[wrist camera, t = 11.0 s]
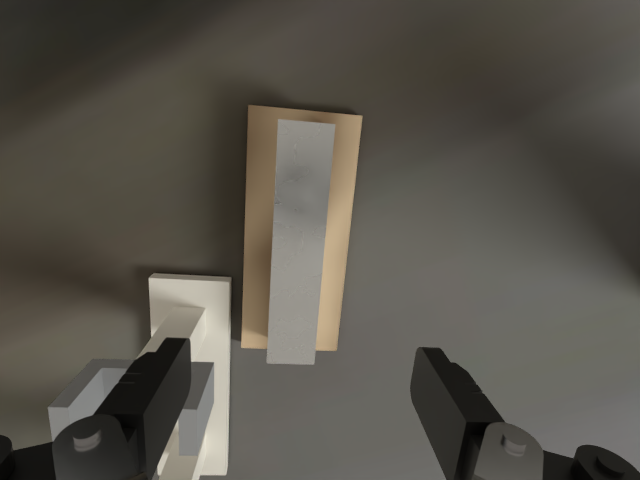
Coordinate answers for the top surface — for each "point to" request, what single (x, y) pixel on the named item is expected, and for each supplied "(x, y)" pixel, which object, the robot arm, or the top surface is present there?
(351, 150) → the mat
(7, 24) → the top surface
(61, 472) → the robot arm
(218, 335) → the rail stand
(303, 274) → the rail
